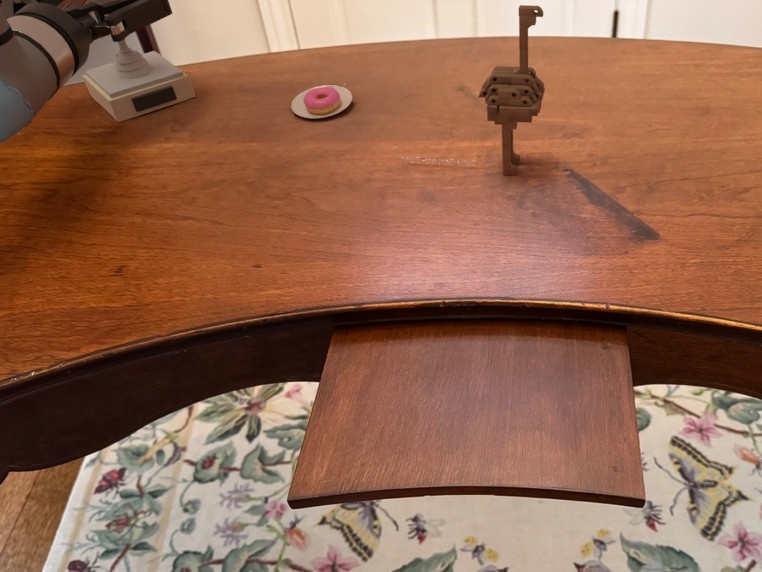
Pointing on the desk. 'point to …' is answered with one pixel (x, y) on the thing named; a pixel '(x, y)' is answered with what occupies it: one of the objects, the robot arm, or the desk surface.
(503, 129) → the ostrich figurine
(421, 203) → the desk surface
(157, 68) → the scale
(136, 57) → the chalice
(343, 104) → the donut
